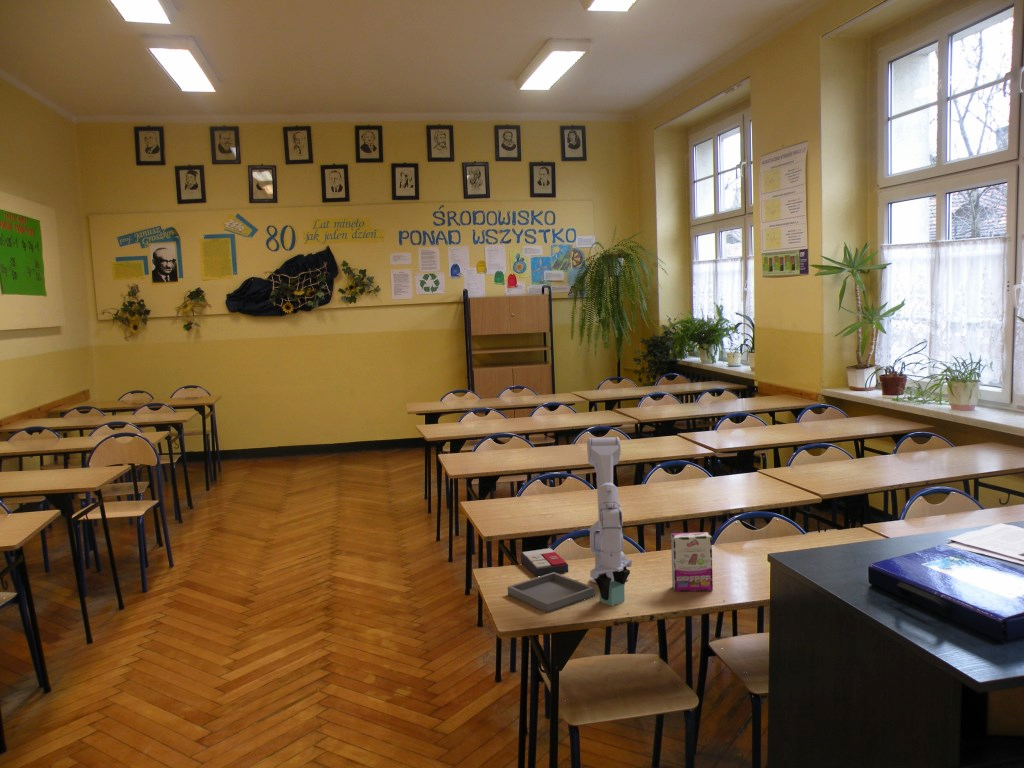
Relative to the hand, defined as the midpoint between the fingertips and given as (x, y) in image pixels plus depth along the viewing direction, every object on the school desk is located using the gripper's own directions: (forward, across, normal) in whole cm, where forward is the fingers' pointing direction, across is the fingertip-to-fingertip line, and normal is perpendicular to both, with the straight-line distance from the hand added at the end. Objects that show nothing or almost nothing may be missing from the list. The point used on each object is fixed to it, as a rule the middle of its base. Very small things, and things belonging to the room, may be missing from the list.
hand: (611, 596), depth 218 cm
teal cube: (+1, 0, 0) cm, 1 cm away
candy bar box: (+2, +24, -9) cm, 26 cm away
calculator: (+2, +4, +35) cm, 35 cm away
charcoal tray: (+1, -10, +15) cm, 18 cm away
